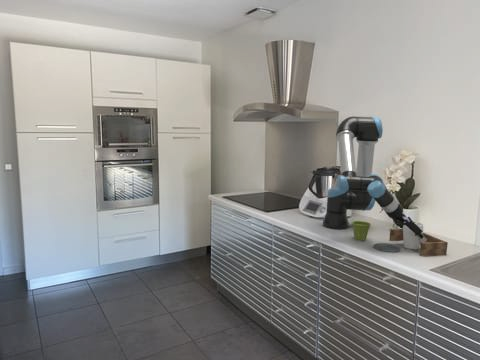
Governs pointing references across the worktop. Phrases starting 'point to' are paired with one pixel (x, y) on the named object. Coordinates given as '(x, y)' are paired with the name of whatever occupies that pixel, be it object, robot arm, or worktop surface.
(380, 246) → the disc
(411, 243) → the cup
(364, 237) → the plant pot
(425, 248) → the u-shaped wooden rail
